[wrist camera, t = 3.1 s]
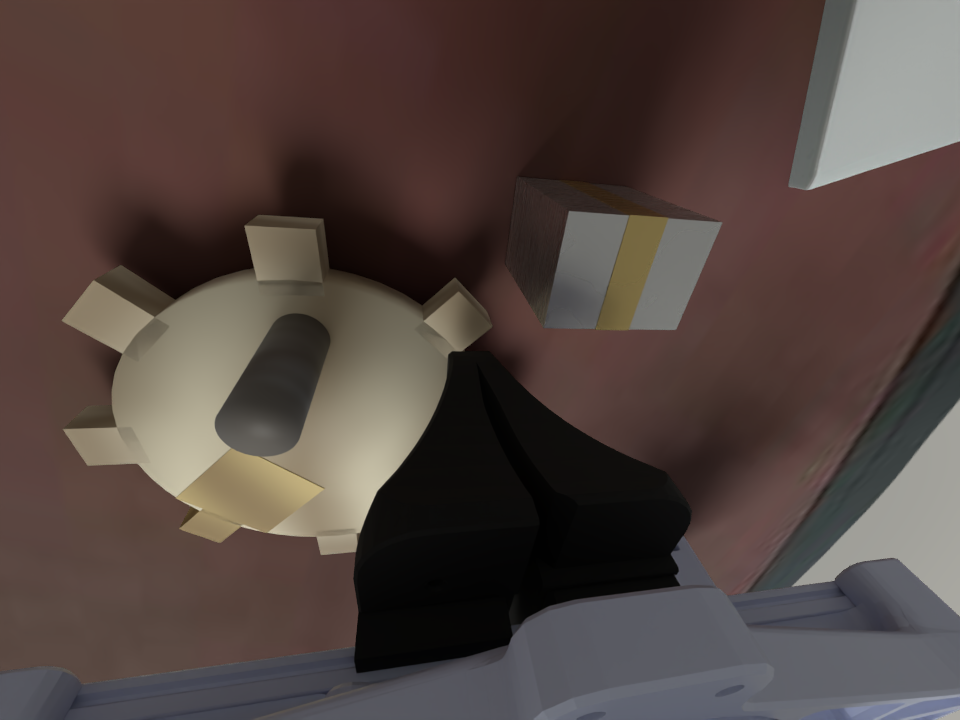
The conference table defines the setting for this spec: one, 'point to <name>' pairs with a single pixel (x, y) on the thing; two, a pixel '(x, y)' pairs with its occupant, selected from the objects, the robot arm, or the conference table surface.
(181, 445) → the sprocket
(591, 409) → the conference table surface
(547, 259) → the white small box
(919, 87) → the external hard drive
